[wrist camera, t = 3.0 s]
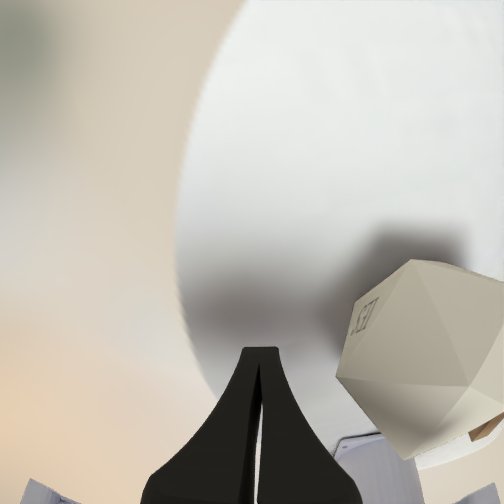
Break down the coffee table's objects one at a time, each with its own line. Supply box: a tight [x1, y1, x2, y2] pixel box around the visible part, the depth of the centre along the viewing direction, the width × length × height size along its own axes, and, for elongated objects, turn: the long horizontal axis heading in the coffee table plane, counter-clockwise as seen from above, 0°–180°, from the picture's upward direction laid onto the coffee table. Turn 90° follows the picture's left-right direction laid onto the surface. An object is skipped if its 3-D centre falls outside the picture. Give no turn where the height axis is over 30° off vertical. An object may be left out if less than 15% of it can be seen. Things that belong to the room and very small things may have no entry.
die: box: [336, 259, 504, 460], centre depth 11 cm, size 8×9×10 cm
